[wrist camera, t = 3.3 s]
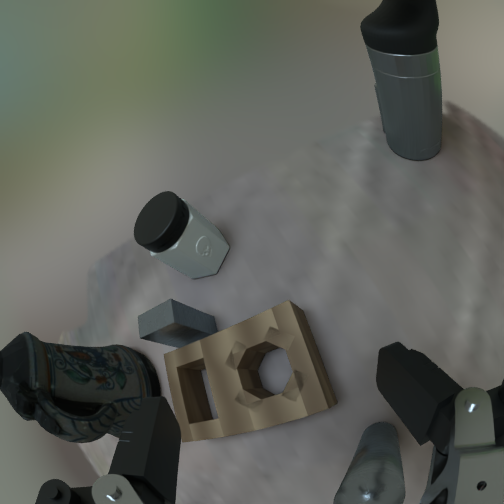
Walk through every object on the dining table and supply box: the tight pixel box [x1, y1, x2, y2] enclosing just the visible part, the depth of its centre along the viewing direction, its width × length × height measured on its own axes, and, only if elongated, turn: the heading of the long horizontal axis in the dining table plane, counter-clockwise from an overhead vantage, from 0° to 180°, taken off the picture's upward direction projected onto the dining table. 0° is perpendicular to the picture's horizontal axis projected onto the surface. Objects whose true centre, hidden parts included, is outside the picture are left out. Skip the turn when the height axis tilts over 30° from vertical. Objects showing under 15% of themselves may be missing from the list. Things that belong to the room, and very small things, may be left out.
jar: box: [134, 191, 230, 279], centre depth 38 cm, size 9×8×12 cm
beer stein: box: [0, 332, 160, 443], centre depth 28 cm, size 16×19×25 cm
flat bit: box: [138, 299, 218, 348], centre depth 34 cm, size 3×6×9 cm, turn 107°
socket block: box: [164, 300, 337, 442], centre depth 29 cm, size 18×12×5 cm, turn 107°
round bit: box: [333, 422, 405, 504], centre depth 15 cm, size 4×4×16 cm
